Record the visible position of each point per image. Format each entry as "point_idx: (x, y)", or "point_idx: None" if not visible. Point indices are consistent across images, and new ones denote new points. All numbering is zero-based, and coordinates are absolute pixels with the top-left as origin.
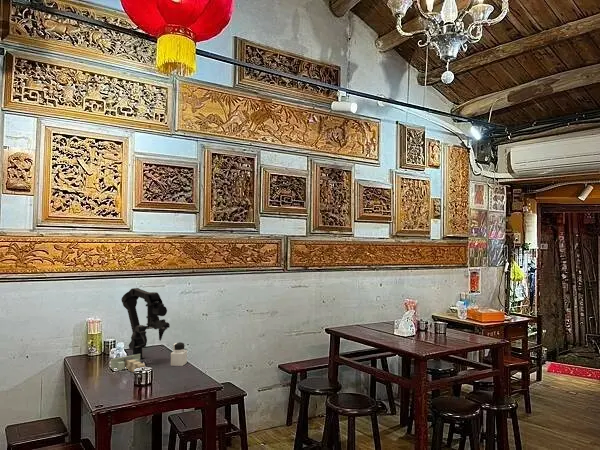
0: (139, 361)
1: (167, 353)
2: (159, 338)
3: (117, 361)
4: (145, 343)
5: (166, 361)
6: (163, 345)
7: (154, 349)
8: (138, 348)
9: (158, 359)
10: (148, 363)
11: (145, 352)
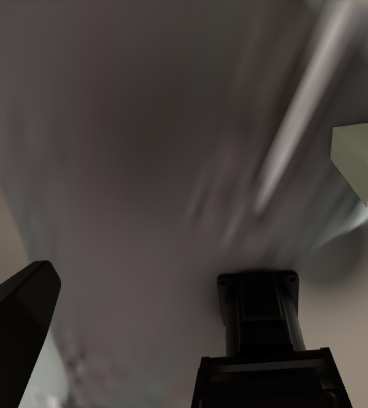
0: (352, 136)
1: None
2: (44, 312)
3: None
4: (213, 379)
5: (89, 87)
6: (64, 404)
7: (115, 380)
8: (270, 353)
9: (140, 195)
10: (254, 120)
11: (170, 365)
